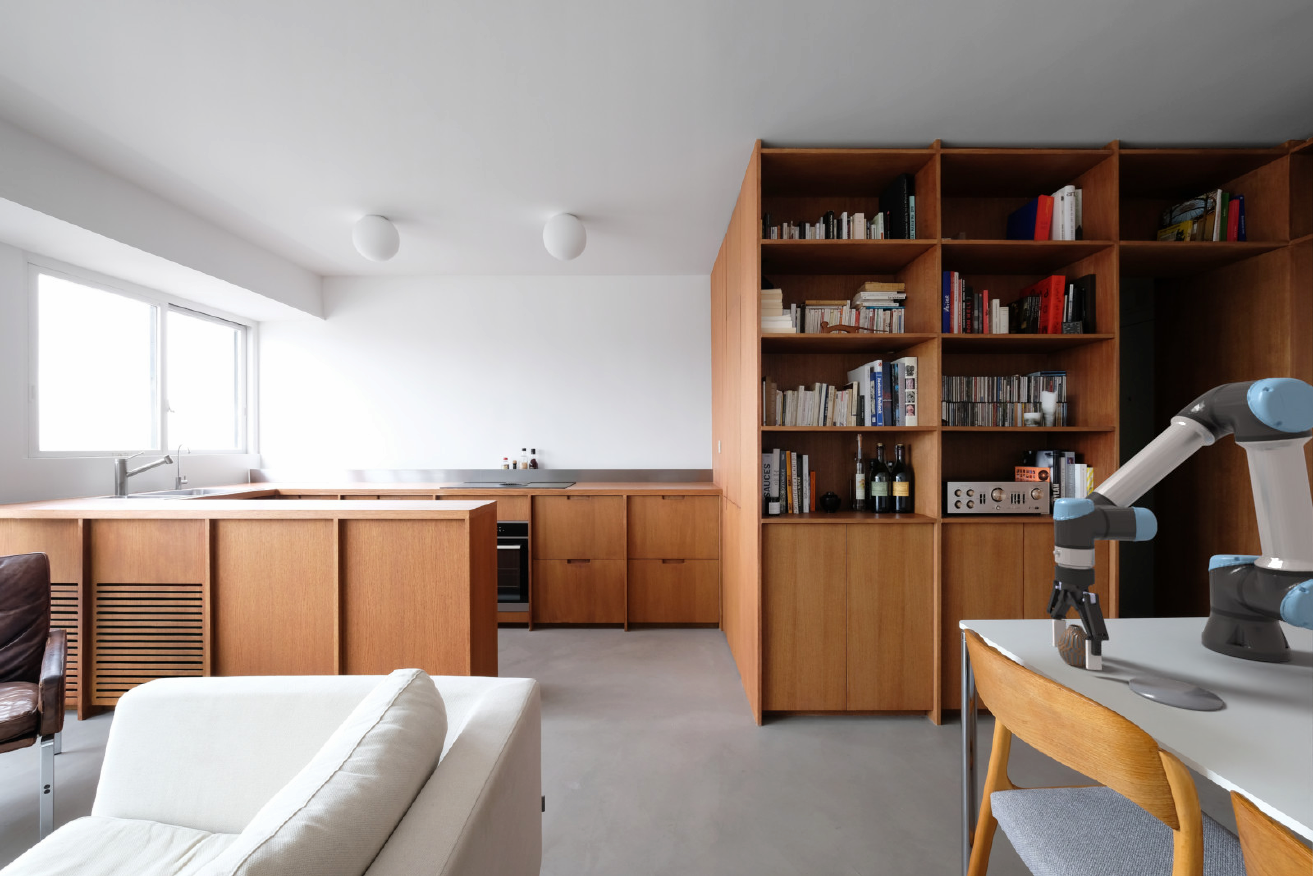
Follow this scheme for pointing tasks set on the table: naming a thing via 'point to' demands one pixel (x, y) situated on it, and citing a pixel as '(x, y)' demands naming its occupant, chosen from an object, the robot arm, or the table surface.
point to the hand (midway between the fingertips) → (1075, 657)
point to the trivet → (1175, 693)
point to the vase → (1073, 646)
